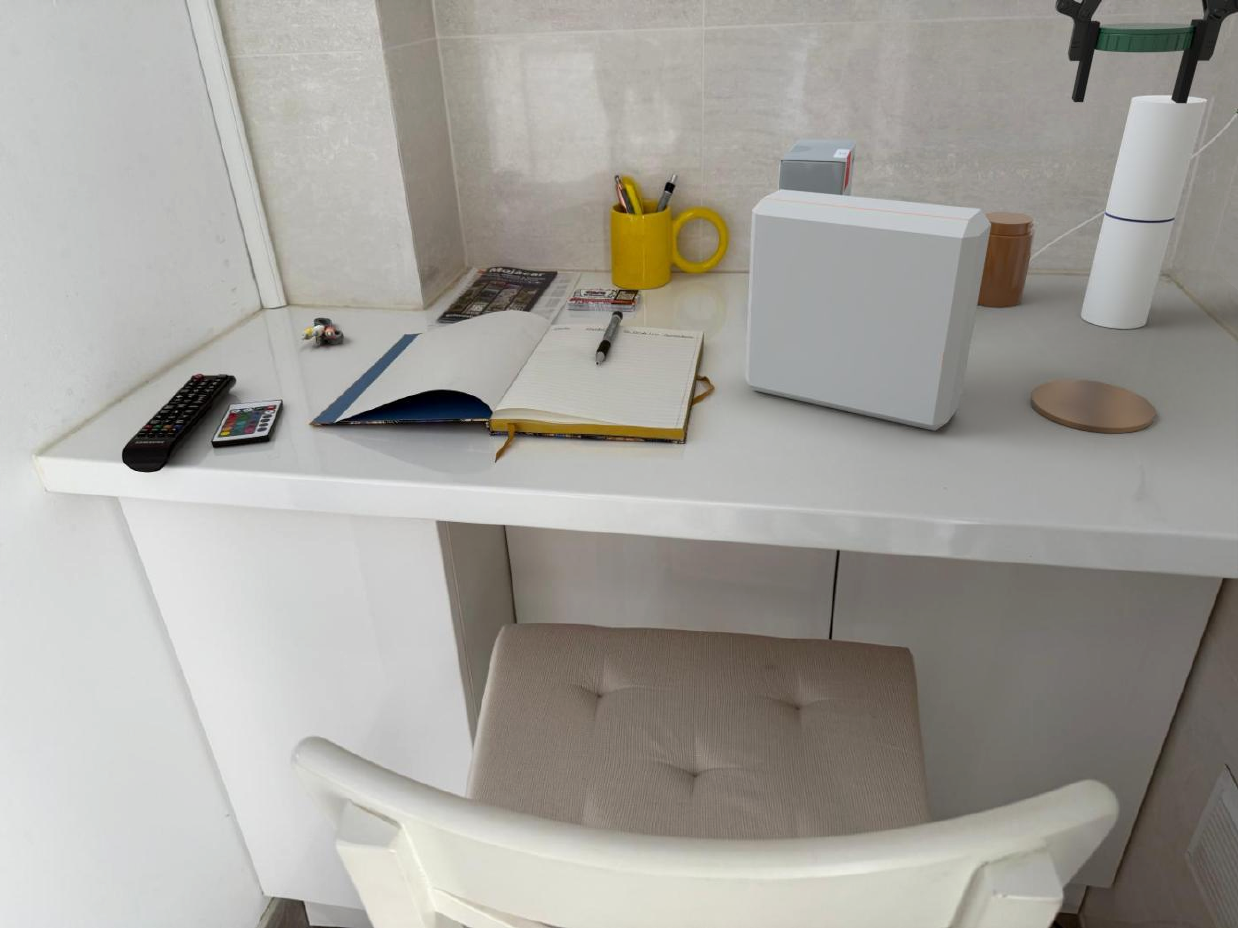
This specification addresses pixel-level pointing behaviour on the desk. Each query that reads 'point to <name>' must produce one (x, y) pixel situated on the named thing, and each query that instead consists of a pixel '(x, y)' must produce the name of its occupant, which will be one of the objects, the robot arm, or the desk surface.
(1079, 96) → the robot arm
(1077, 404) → the coaster
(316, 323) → the composite cable
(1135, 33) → the jar lid
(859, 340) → the bevelled white case
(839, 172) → the hard drive box
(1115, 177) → the cylindrical container
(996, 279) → the brown lidded jar
